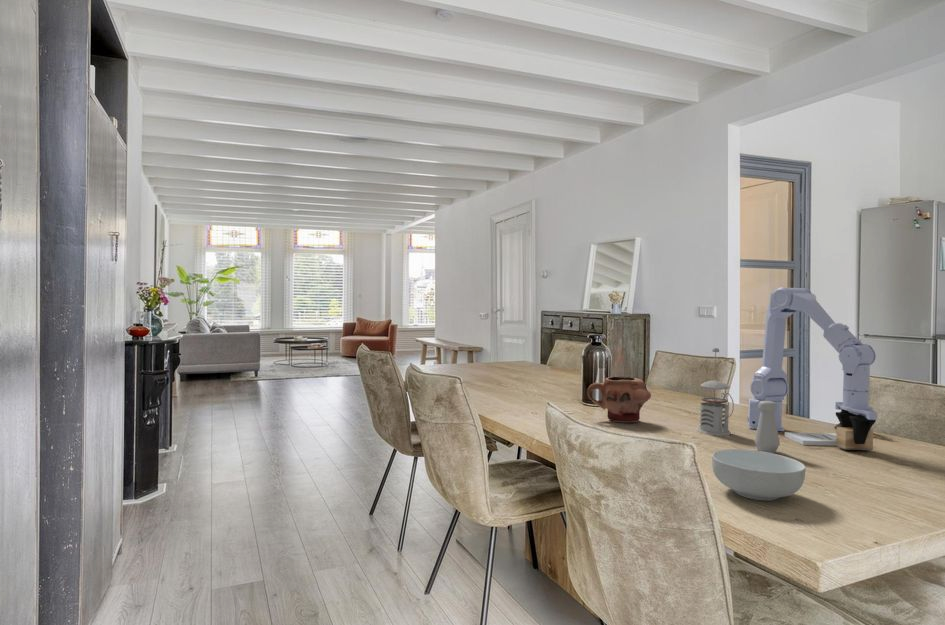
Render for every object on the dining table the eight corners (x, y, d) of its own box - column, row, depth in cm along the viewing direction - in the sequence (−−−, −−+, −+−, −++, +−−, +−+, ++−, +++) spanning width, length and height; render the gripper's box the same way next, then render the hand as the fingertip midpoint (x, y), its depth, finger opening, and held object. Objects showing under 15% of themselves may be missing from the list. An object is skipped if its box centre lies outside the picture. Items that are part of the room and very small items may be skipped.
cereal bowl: (761, 514, 106) (762, 475, 106) (693, 486, 121) (693, 452, 121) (824, 502, 113) (825, 466, 112) (752, 478, 128) (753, 445, 128)
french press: (715, 427, 179) (717, 346, 179) (744, 436, 168) (746, 349, 168) (688, 429, 176) (690, 346, 176) (716, 438, 165) (718, 350, 165)
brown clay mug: (589, 423, 182) (590, 379, 182) (584, 416, 194) (584, 374, 194) (654, 425, 181) (655, 380, 181) (644, 417, 193) (645, 375, 193)
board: (802, 444, 159) (802, 440, 159) (784, 436, 169) (784, 432, 169) (870, 446, 158) (870, 442, 158) (848, 437, 168) (848, 433, 168)
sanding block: (845, 449, 152) (845, 430, 152) (836, 445, 156) (836, 427, 156) (872, 450, 152) (873, 431, 152) (862, 446, 156) (863, 427, 156)
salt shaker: (778, 450, 152) (780, 400, 152) (780, 455, 147) (781, 404, 147) (754, 447, 155) (755, 398, 155) (754, 452, 150) (755, 402, 149)
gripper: (890, 395, 146) (888, 449, 147) (854, 386, 161) (852, 435, 161) (861, 394, 146) (859, 448, 147) (828, 385, 161) (826, 434, 161)
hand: (854, 441), depth 154 cm, fingers closed on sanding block, 4 cm apart
